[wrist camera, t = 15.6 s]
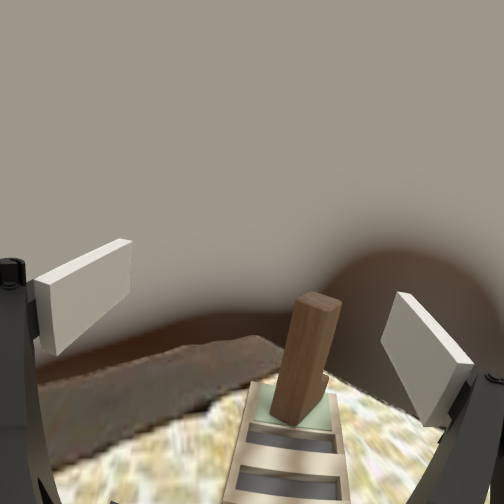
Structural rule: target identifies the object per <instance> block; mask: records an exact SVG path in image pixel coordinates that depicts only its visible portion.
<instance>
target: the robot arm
mask: <svg viewBox="0 0 504 504" xmlns="http://www.w3.org/2000/svg"><path fill="white" fill-rule="evenodd" d="M132 246H133V241H129V240H125V239H117V240H115V241H113V242H111V243H108V244H107V245H104V246H102V247H100V248H97V249H95V250H93V251H91V252H89V253H87V254H85V255H82V256H80V257H78V258H76V259H74V260H72V261H70V262H68V263H66V264H64V265H62V266H60V267H57V268H55V269H53V270H51V271H49V272H47V273H45V274H43V275H41V276H39V277H37V278H35V279H33V280H31V281H29V282H27V283H26V271H25V262H24V261H23V260H21V259H18V258H3V259H0V504H62V503H61V501H60V498H59V495H58V492H57V488H56V485H55V481H54V477H53V473H52V469H51V465H50V461H49V456H48V452H47V447H46V442H45V436H44V431H43V425H42V419H41V412H40V405H39V397H38V388H37V378H36V367H35V352H34V351H35V350H34V344H33V340H34V339H35V338H36V337H38V336H39V337H40V343H41V349H42V350H44V351H46V352H49V353H51V354H53V355H55V356H58V355H59V354H60V353H61V352H62V351H63V350H64V349H65V348H67V346H69V345H70V344H71V343H72V342H73V341H74V340H76V338H78V337H79V336H80V335H81V334H82V333H84V332H85V331H86V330H87V329H88V328H89V327H90V326H91V325H93V324H94V323H95V322H96V321H97V320H98V319H100V318H101V317H102V316H103V315H104V314H105V313H107V312H108V311H109V310H110V309H111V308H112V307H114V306H115V305H116V304H117V303H118V302H120V300H122V299H123V298H124V297H125V296H127V295H128V294H129V293H130V277H131V261H132ZM381 343H382V345H383V347H384V348H385V350H386V352H387V354H388V356H389V358H390V360H391V361H392V364H393V366H394V368H395V370H396V372H397V374H398V375H399V377H400V379H401V381H402V383H403V385H404V387H405V389H406V391H407V393H408V395H409V397H410V400H411V402H412V404H413V406H414V408H415V410H416V412H417V414H418V416H419V418H420V420H421V422H422V425H423V427H438V426H441V424H442V423H443V421H444V419H445V418H446V416H447V414H449V416H450V418H451V419H452V421H451V422H450V424H449V426H448V427H447V429H446V430H445V432H444V433H443V435H442V436H441V438H440V439H439V441H438V442H437V443H439V446H438V448H437V450H436V452H435V454H434V456H433V458H432V460H431V461H430V463H429V465H428V467H427V469H426V471H425V472H424V474H423V476H422V478H421V480H420V481H419V483H418V485H417V486H416V488H415V490H414V491H413V493H412V495H411V496H410V498H409V500H408V501H407V503H406V504H484V502H485V499H486V496H487V493H488V489H489V486H490V504H504V378H503V377H502V376H501V375H500V374H498V373H497V372H494V371H491V370H486V369H483V370H480V369H479V368H478V367H477V365H476V364H475V363H474V362H473V361H472V360H471V358H469V356H468V355H467V354H466V353H465V351H464V350H463V349H462V348H461V347H460V346H459V345H458V344H456V342H455V341H454V340H453V339H452V338H451V337H450V336H449V335H448V334H447V332H446V331H445V330H444V329H443V328H442V327H441V326H440V325H439V324H438V323H437V322H436V321H435V319H433V317H432V316H431V315H430V314H429V313H428V312H427V311H426V310H425V309H424V308H423V307H422V306H421V305H420V304H419V303H418V301H417V300H416V299H415V298H414V297H413V296H412V295H411V294H407V293H402V292H397V294H396V297H395V300H394V303H393V306H392V310H391V312H390V315H389V318H388V321H387V324H386V327H385V330H384V333H383V336H382V338H381ZM110 504H118V503H116V502H113V501H111V502H110Z"/></svg>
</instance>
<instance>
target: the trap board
mask: <svg viewBox="0 0 504 504" xmlns="http://www.w3.org/2000/svg"><path fill="white" fill-rule="evenodd" d="M275 388H276V386H275V385H269V384H264V383H258V382H253V381H251V385H250V389H249V394H248V398H247V402H246V407H245V411H244V415H243V420H242V424H241V428H240V432H239V436H238V441H237V445H236V449H235V453H234V457H233V461H232V465H231V469H230V473H229V477H228V481H227V485H226V489H225V493H224V497H223V501H222V504H351V501H350V492H349V483H348V474H347V466H346V459H345V451H344V444H343V436H342V429H341V423H340V416H339V409H338V403H337V397H336V394H331V393H324V395H323V398H322V399H321V400H320V401H319V403H318V404H317V405H316V406H315V407H314V408H313V409H312V410H311V411H310V412H309V413H308V414H307V416H306V417H305V418H304V419H303V420H302V421H301V422H300V423H299V424H298V425H297V426H292V425H290V424H288V423H286V422H284V421H282V420H280V419H278V418H276V417H274V416H273V415H271V414H270V408H271V404H272V400H273V396H274V392H275Z"/></svg>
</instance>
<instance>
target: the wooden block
mask: <svg viewBox="0 0 504 504" xmlns="http://www.w3.org/2000/svg"><path fill="white" fill-rule="evenodd" d="M341 305H342V302H341V301H340V300H337V299H334V298H331V297H328V296H325V295H322V294H320V293H317V292H314V291H311V292H308V293H306V294H304V295H302V296H300V297H298V298H297V299H296V301H295V305H294V310H293V315H292V319H291V324H290V328H289V333H288V337H287V342H286V346H285V351H284V355H283V359H282V363H281V368H280V372H279V376H278V380H277V384H276V388H275V392H274V396H273V400H272V404H271V408H270V414H271V415H273V416H274V417H276V418H278V419H280V420H282V421H284V422H286V423H288V424H290V425H292V426H297V425H298V424H299V423H300V422H301V421H302V420H303V419H304V418H305V417H306V416H307V414H308V413H309V412H310V411H311V410H312V409H313V408H314V407H315V406H316V405H317V404H318V403H319V401H320V400H321V399H322V398H323V395H324V393H325V390H326V387H327V384H328V381H329V376H327V375H325V374H323V369H324V366H325V363H326V359H327V356H328V353H329V349H330V346H331V342H332V339H333V335H334V331H335V328H336V324H337V320H338V317H339V313H340V309H341Z"/></svg>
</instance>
